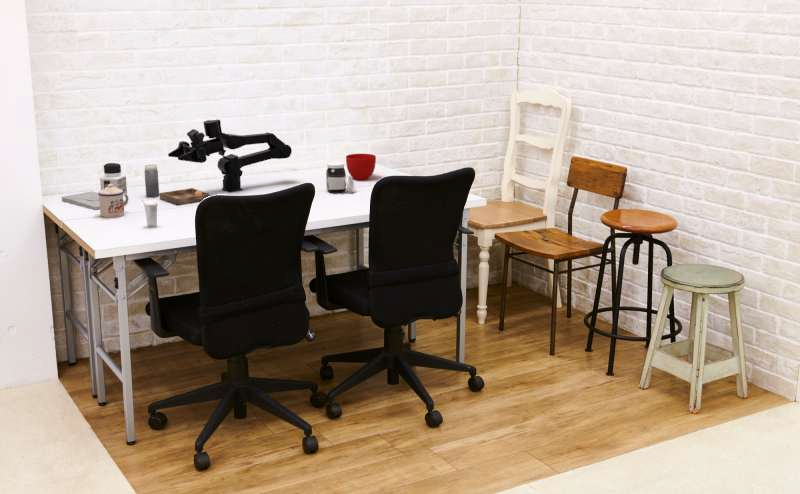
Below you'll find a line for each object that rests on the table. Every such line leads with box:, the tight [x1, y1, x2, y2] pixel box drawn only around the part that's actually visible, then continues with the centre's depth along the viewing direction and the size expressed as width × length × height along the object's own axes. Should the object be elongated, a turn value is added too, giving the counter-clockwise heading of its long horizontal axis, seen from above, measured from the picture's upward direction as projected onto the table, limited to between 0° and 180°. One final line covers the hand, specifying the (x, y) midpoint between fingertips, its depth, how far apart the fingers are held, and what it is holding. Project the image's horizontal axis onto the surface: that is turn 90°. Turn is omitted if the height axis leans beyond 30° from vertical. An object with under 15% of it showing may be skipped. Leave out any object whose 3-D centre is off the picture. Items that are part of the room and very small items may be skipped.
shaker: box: [144, 164, 160, 199], centre depth 416 cm, size 5×5×12 cm
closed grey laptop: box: [61, 191, 125, 211], centre depth 407 cm, size 24×2×14 cm
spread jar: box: [325, 161, 356, 194], centre depth 425 cm, size 12×11×12 cm
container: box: [99, 162, 128, 195], centre depth 418 cm, size 8×8×13 cm
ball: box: [195, 190, 203, 196], centre depth 410 cm, size 3×3×3 cm
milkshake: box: [141, 199, 158, 228], centre depth 369 cm, size 4×5×10 cm
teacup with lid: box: [97, 184, 130, 219], centre depth 386 cm, size 12×9×12 cm
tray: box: [159, 188, 211, 206], centre depth 411 cm, size 15×15×2 cm
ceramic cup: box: [345, 153, 377, 181], centre depth 452 cm, size 13×17×10 cm
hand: (173, 156), depth 411 cm, fingers open, 9 cm apart
